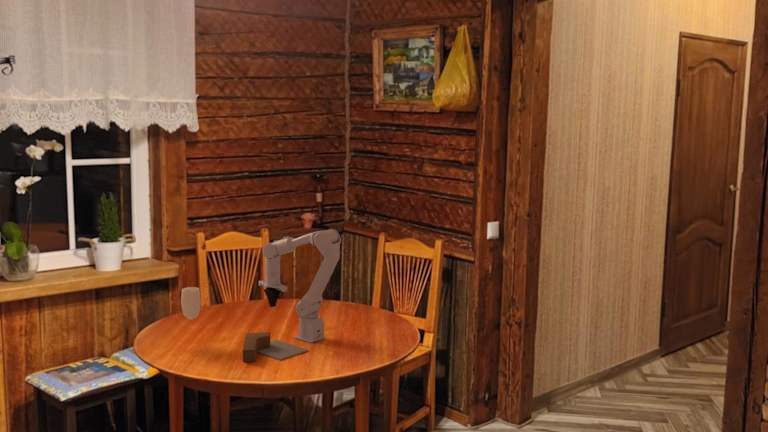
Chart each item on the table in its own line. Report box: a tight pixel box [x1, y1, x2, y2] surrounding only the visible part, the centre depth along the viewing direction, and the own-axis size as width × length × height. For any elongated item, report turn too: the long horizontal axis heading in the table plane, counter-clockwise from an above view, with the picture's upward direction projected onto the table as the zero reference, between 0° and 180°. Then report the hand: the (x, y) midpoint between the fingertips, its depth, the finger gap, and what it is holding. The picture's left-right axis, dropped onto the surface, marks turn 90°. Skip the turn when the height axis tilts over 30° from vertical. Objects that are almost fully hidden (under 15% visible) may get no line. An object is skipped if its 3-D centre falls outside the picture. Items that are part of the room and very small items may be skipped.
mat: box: [257, 339, 309, 362], centre depth 281 cm, size 17×14×1 cm
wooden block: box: [242, 331, 271, 363], centre depth 276 cm, size 9×4×18 cm
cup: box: [180, 286, 202, 321], centre depth 286 cm, size 7×7×21 cm
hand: (272, 306), depth 301 cm, fingers closed
